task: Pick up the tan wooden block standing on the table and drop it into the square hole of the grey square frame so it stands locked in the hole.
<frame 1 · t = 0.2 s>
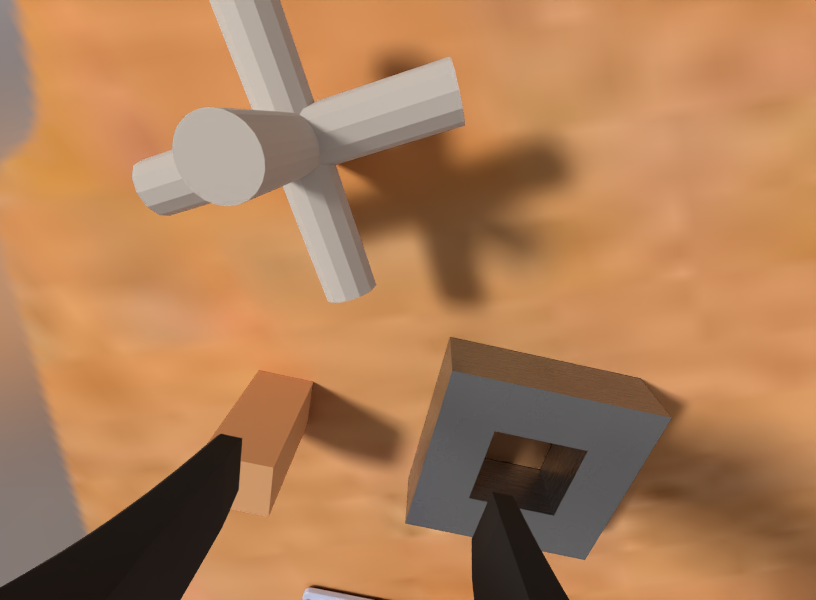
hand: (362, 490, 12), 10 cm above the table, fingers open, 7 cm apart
tan wooden block: (283, 397, 23), on the table
grey square frame: (514, 432, 23), on the table
pipe connector: (336, 138, 17), on the table
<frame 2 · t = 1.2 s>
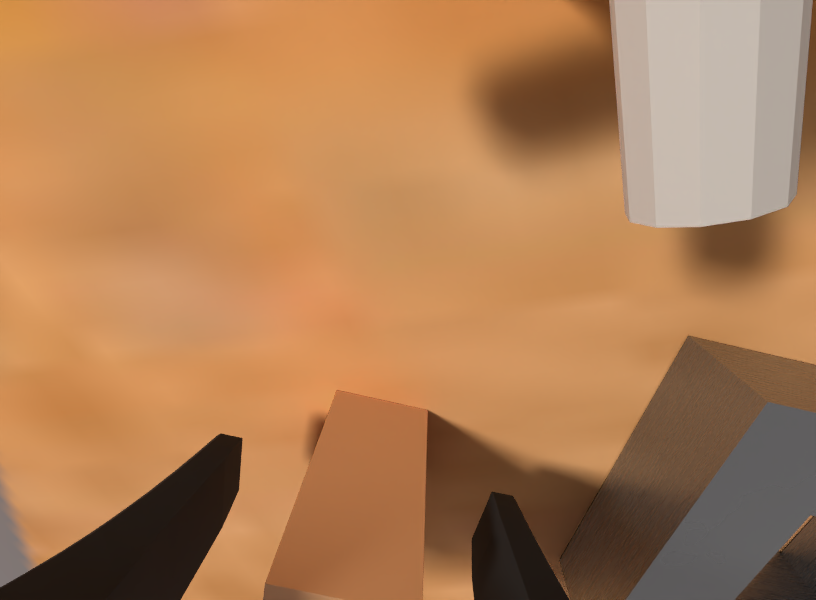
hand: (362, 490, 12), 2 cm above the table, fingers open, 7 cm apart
tan wooden block: (373, 435, 14), on the table
grey square frame: (756, 495, 14), on the table
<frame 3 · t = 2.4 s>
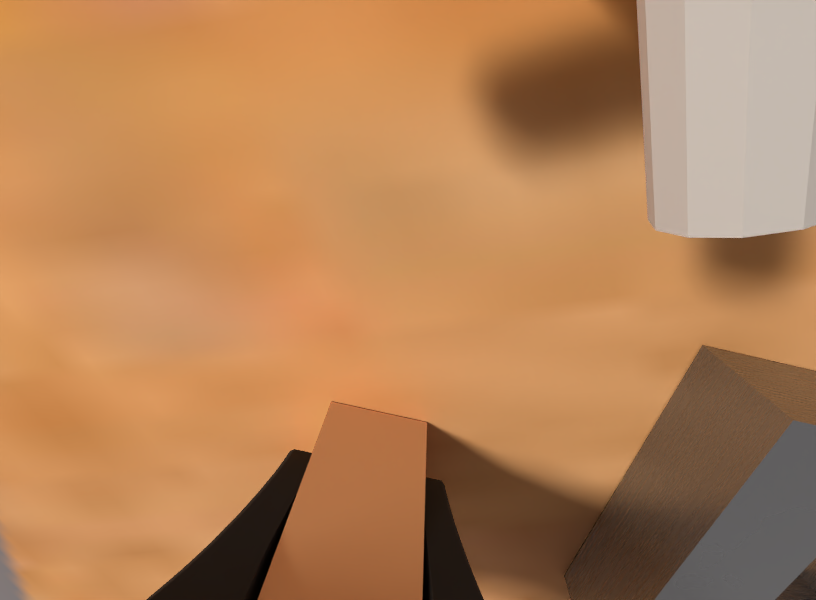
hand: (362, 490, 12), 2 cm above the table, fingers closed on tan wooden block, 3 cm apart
tan wooden block: (370, 448, 13), on the table, touching gripper
grey square frame: (771, 510, 13), on the table
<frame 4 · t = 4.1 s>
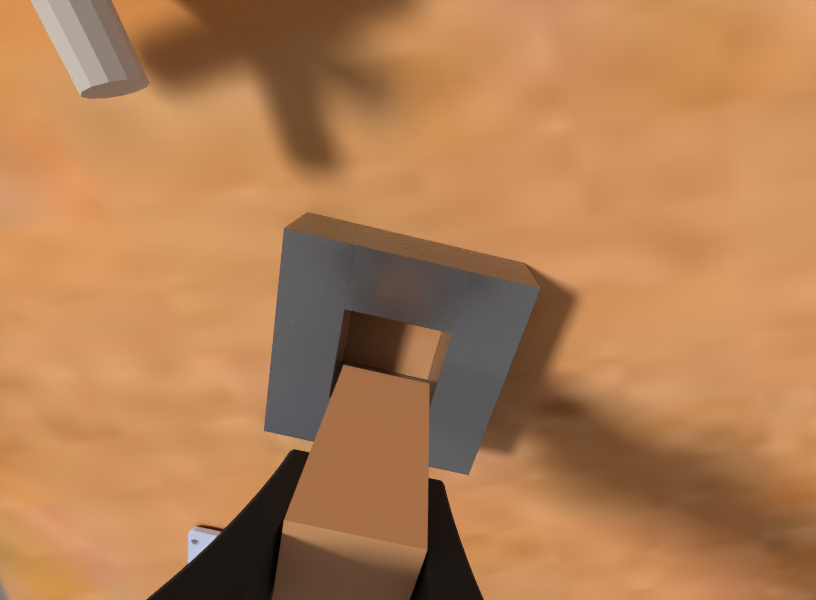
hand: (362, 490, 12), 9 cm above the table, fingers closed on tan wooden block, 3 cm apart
tan wooden block: (378, 409, 14), point 6 cm above the table, touching gripper
grey square frame: (394, 333, 20), on the table
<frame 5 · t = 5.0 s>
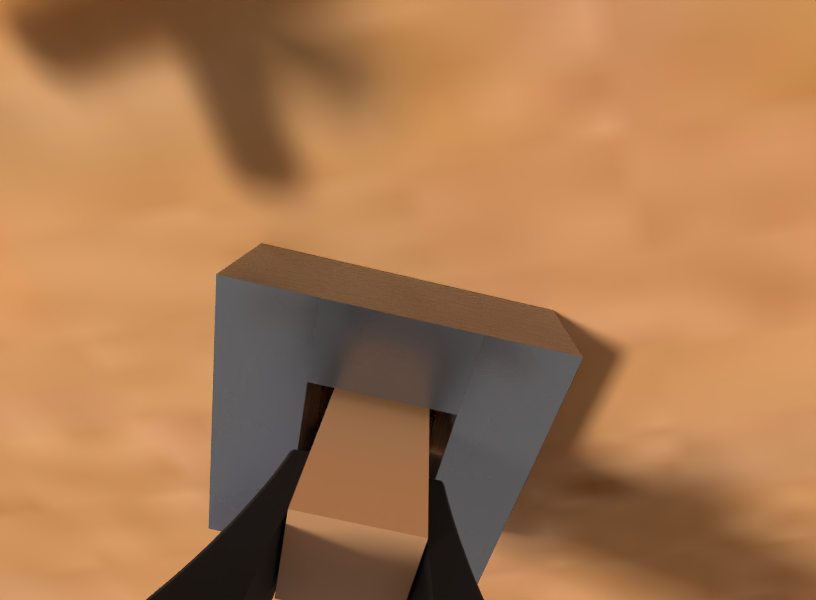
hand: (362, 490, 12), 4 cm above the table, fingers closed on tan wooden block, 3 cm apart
tan wooden block: (379, 404, 15), point 1 cm above the table, touching gripper
grey square frame: (380, 396, 16), on the table
when the fingers open (4 cm above the table, at t = 5.8 s): tan wooden block stays where it is, resting in grey square frame.
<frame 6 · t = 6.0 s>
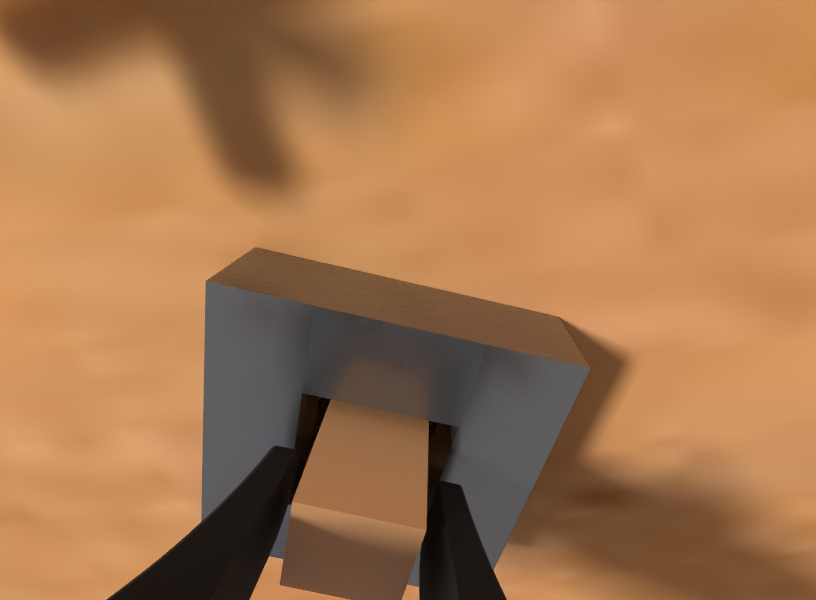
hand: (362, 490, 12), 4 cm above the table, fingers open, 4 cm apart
tan wooden block: (380, 398, 15), resting in grey square frame
grey square frame: (379, 405, 15), on the table
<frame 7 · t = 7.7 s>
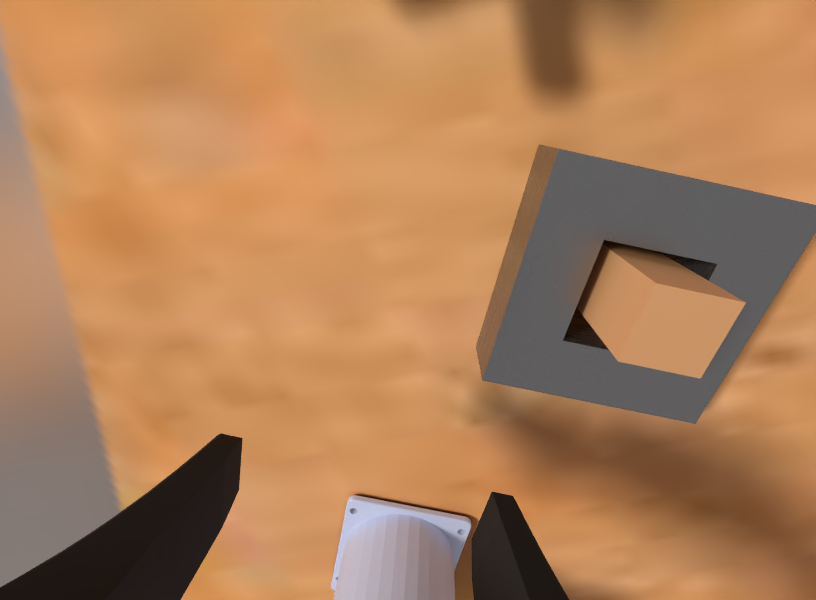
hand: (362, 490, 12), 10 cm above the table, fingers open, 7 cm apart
tan wooden block: (609, 272, 19), resting in grey square frame
grey square frame: (607, 278, 19), on the table
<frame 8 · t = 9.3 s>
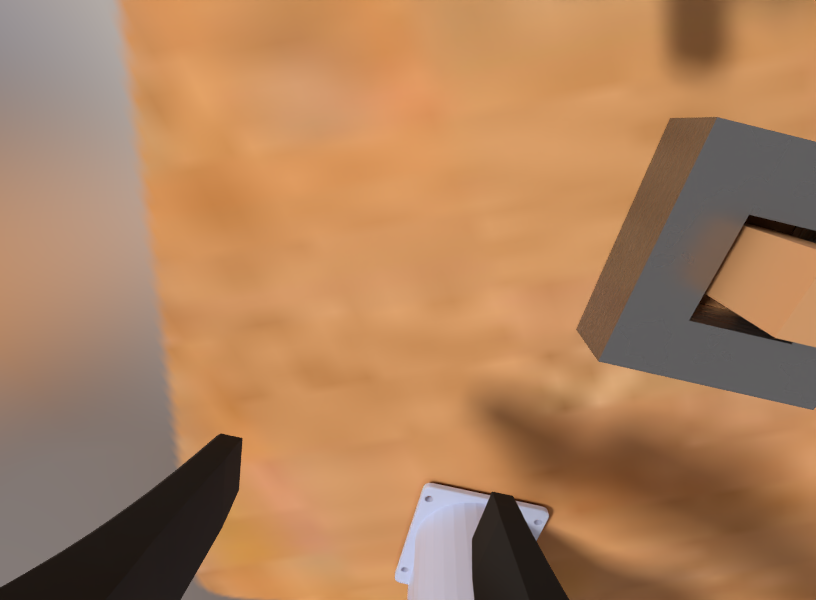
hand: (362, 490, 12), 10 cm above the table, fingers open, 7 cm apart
tan wooden block: (724, 254, 19), resting in grey square frame
grey square frame: (722, 259, 19), on the table
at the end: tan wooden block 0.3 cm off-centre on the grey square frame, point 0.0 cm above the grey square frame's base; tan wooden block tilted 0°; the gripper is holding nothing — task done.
